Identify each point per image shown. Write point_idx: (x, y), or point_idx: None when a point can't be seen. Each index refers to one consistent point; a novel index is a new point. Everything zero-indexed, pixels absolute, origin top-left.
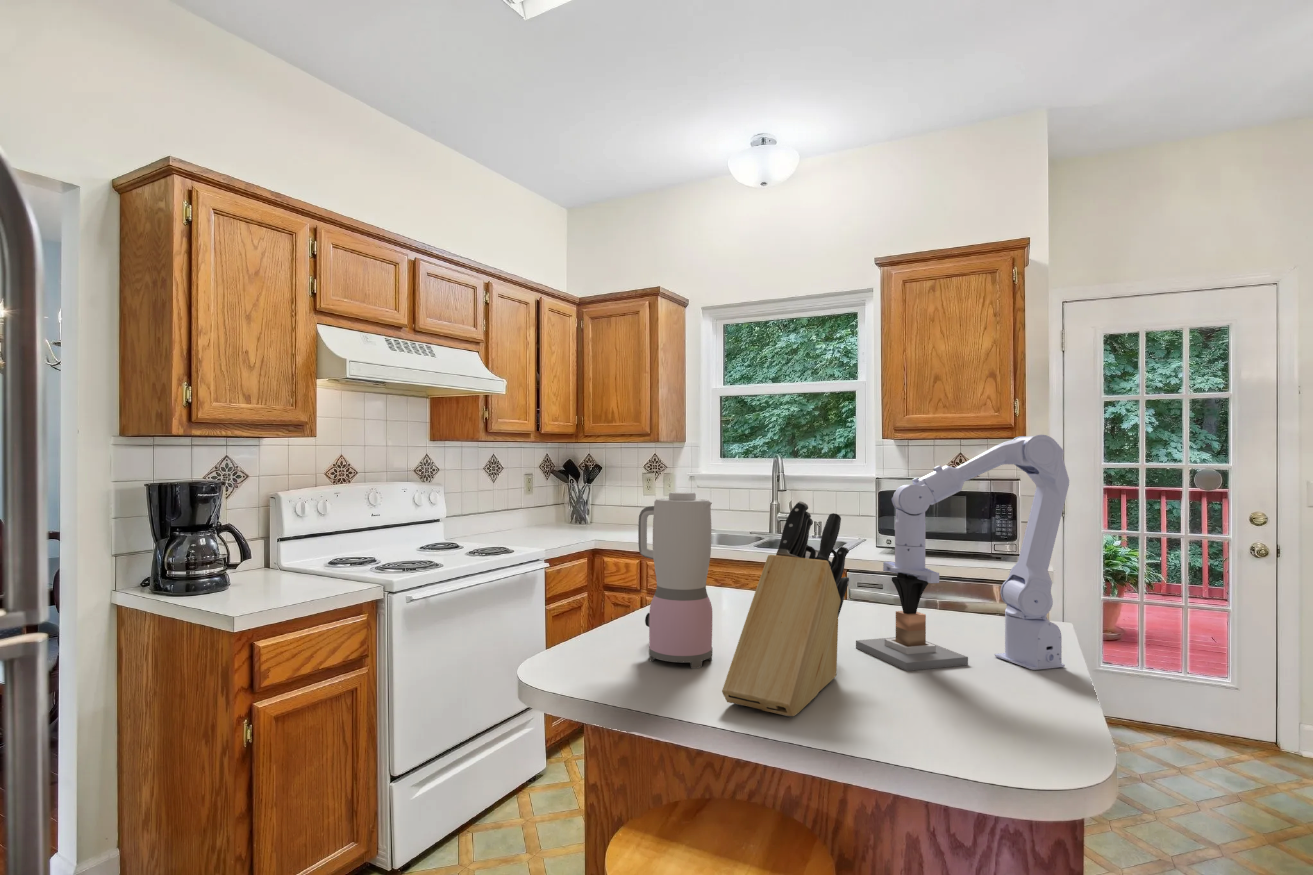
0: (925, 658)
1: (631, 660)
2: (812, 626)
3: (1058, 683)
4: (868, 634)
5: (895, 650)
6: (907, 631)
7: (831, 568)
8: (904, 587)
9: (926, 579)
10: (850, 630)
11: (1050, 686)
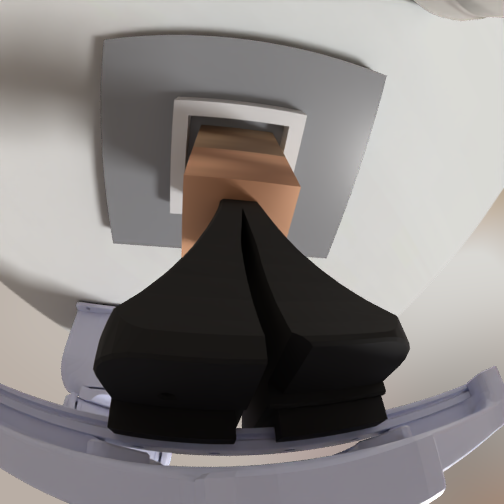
0: (121, 124)
1: None
2: None
3: (25, 282)
4: (424, 210)
5: (231, 93)
6: (202, 146)
7: None
8: (192, 289)
9: (12, 401)
10: (461, 200)
11: (11, 262)
